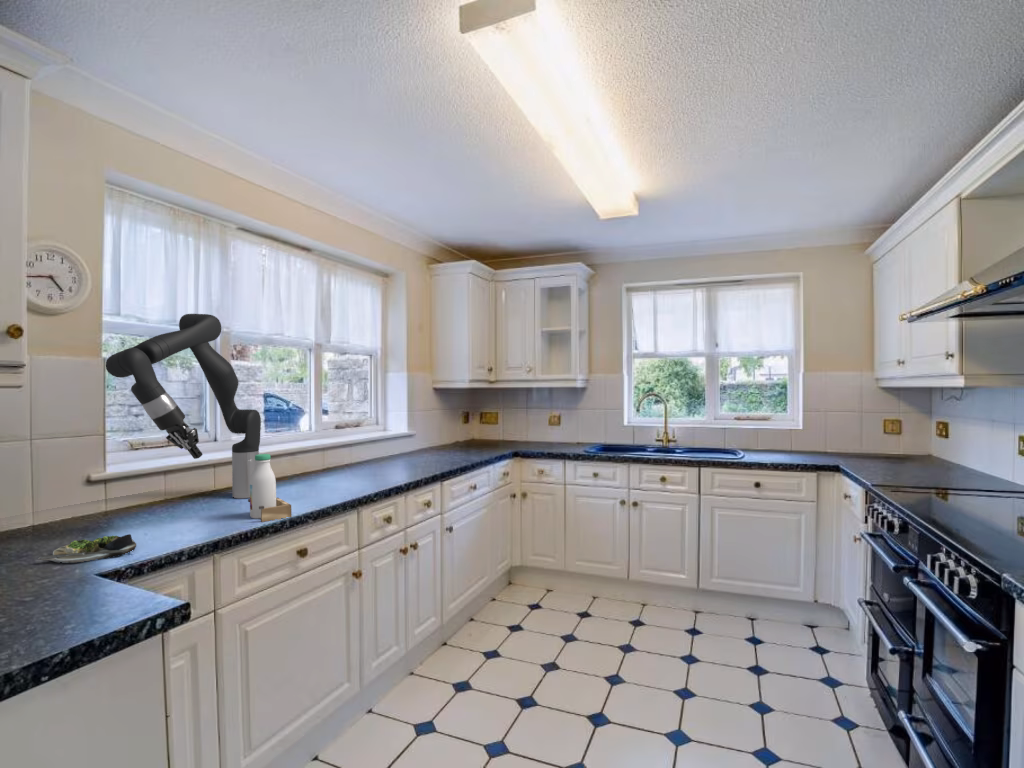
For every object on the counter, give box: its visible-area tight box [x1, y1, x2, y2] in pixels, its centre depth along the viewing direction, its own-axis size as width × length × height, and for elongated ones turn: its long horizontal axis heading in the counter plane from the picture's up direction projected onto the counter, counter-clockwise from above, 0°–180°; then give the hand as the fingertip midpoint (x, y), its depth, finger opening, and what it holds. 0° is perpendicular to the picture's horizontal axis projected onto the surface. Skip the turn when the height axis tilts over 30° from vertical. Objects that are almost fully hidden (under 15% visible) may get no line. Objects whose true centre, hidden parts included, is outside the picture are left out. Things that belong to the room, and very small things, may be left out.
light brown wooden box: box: [247, 497, 292, 523], centre depth 174 cm, size 15×9×5 cm, turn 39°
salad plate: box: [37, 533, 137, 564], centre depth 136 cm, size 19×18×5 cm
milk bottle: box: [249, 453, 277, 520], centre depth 174 cm, size 8×8×20 cm
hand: (198, 456), depth 164 cm, fingers closed
